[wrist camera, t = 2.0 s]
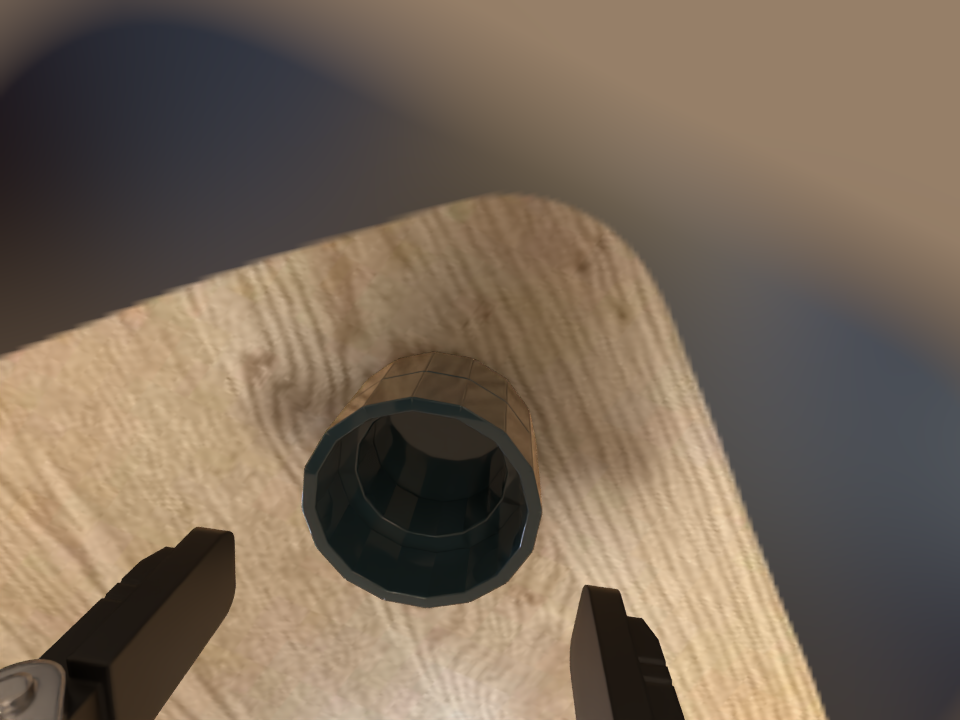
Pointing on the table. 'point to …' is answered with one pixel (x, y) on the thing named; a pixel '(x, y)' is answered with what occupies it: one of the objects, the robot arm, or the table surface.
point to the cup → (427, 483)
